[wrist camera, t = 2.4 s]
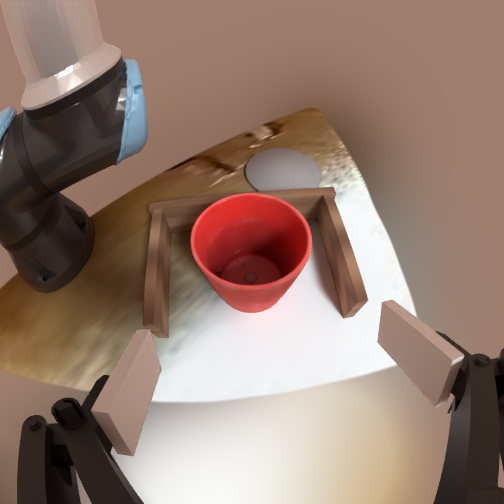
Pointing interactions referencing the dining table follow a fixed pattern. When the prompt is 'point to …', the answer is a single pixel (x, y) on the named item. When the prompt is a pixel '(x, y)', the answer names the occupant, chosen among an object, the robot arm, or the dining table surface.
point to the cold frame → (188, 210)
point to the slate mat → (282, 170)
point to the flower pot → (251, 249)
